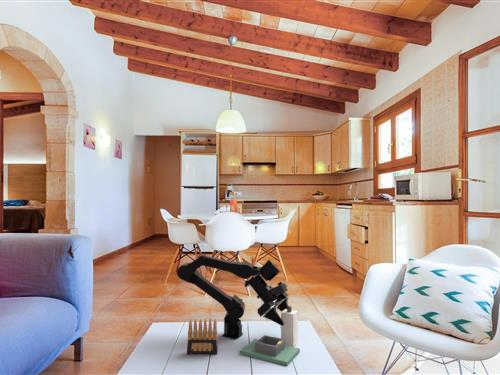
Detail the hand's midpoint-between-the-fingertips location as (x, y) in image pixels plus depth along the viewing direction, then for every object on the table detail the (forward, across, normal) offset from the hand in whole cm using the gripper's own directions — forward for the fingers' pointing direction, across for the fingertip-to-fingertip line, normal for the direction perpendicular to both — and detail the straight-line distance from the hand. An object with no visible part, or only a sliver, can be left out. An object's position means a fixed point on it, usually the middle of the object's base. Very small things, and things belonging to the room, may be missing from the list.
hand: (287, 321), depth 127 cm
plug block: (+6, 0, +5) cm, 8 cm away
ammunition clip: (-11, -23, +22) cm, 34 cm away
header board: (+4, -11, +8) cm, 14 cm away
